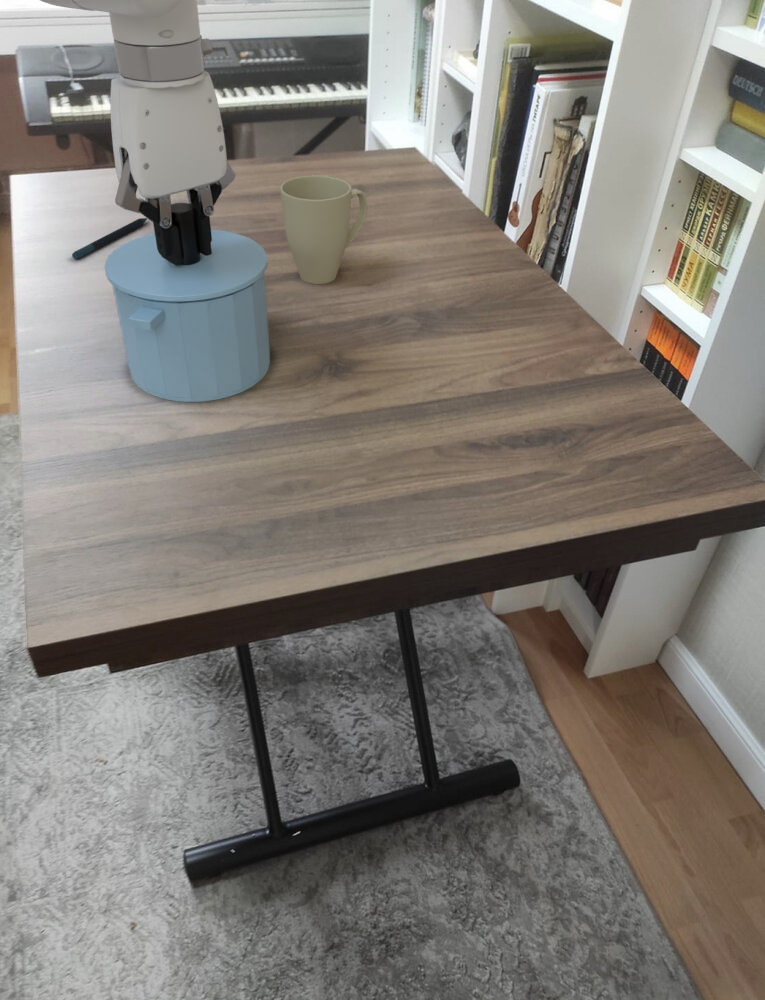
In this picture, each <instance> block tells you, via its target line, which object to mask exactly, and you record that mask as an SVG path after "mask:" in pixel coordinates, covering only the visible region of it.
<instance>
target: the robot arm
mask: <svg viewBox="0 0 765 1000" xmlns="http://www.w3.org/2000/svg"><path fill="white" fill-rule="evenodd" d="M39 1H40V2H42V3H45V4H47V5H48V4H49V5H52V6H56V7H60V8H68V9H75V10H83V11H90V12H91V11H92V12H95V11H96V12H102V13H103V12H104V13H108V14H109V15H108V16H109V21H110V27H111V32H112V38H113V45H114V51H115V58H116V62H117V69H118V74H119V77H115V78H112V79H111V81H110V83H111V84H110V103H109V105H110V106H109V107H110V129H111V131H110V132H111V142H112V150H113V158H114V159H113V160H114V166H115V172H116V177H117V181H118V187H117V189H116V190H117V191H116V195H115V199H114V202H115V205H116V206H118V207H120V208H122V209H124V210H125V211H130V212H133V213H137V214H141V215H142V216H144V218H147V220H149V221H150V222H152V225H153V231H154V233H155V238H156V244H157V250H158V252H159V254H160V255H161V256H162V257H163V258H164V259H166V260H168V261H169V262H171V263H173V264H174V265H176V266H177V265H180V264H181V263H182V262H183V260H182V253H181V246H180V238H179V231H178V228H177V226H175V225H173V224H172V214H171V204H172V201H171V195H172V196H173V195H176V194H179V193H184V192H186V196H187V201H188V203H189V204H192V205H193V206H194V208H195V216H196V224H197V232H198V241H199V249H200V253H201V254H203V255H205V256H208V255H211V254H212V250H211V242H212V235H211V229H212V226H211V219H210V217H211V216H213V214H214V213H215V207H214V206H215V205H216V203H217V201H218V199H219V197H220V196H221V194H222V191H223V190H225V189H226V188H227V187H229V185H230V184H231V183H232V182H234V180H235V179H236V174H235V171H234V170H233V168H232V166H231V164H230V163H229V160H228V158H227V146H226V139H225V138H226V137H225V132H224V126H223V120H222V115H221V111H220V107H219V101H218V98H217V94H216V90H215V87H214V83H213V81H212V77H211V75H210V73H209V72H208V71H206V70H205V68H204V67H205V57H206V56H209V55H211V54H212V53H213V44H212V42H211V40H210V39H209V38H202V37H203V36H202V35H201V29H200V19H199V10H198V9H199V8H198V0H39ZM137 192H139V195H140V196H141V197H142V198H141V197H137ZM143 198H144V199H143Z"/></svg>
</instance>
